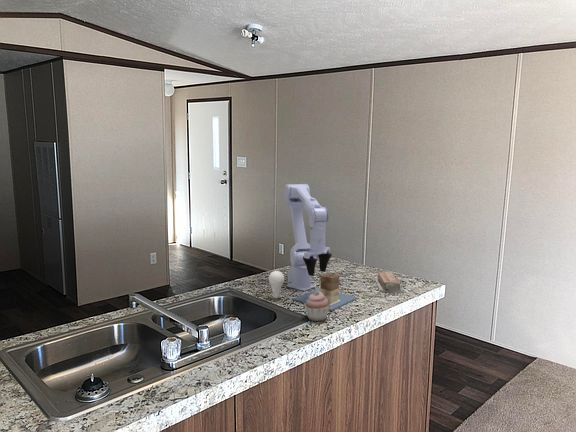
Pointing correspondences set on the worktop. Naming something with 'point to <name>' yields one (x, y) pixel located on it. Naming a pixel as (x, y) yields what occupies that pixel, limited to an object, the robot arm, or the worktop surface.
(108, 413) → the worktop surface
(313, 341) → the worktop surface
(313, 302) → the cupcake
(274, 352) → the worktop surface
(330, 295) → the maple block
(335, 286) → the walnut block
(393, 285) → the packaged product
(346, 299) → the board
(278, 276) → the lightbulb
